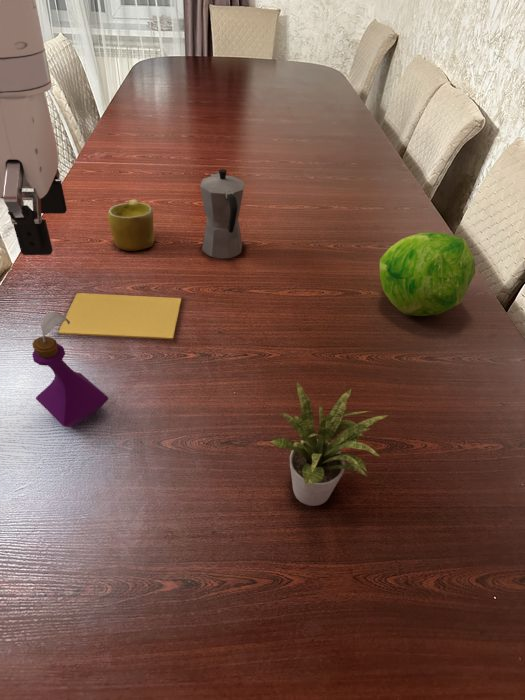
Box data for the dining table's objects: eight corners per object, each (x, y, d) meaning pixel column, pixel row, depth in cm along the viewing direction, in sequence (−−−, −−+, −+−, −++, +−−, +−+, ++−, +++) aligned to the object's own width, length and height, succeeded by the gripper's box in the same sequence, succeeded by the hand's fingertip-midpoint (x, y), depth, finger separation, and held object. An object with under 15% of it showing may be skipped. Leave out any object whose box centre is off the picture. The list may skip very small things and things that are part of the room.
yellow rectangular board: (58, 334, 91) (58, 332, 91) (77, 294, 100) (76, 292, 100) (173, 339, 92) (172, 337, 92) (181, 299, 101) (181, 298, 101)
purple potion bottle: (67, 441, 74) (39, 345, 62) (40, 412, 78) (7, 317, 66) (112, 413, 78) (93, 318, 66) (83, 387, 82) (61, 293, 70)
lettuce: (447, 289, 112) (423, 220, 108) (506, 296, 92) (479, 212, 88) (377, 324, 110) (349, 255, 107) (422, 338, 91) (390, 255, 87)
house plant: (365, 558, 63) (395, 479, 53) (253, 536, 65) (261, 455, 54) (368, 463, 74) (393, 382, 63) (272, 446, 75) (281, 364, 65)
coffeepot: (194, 236, 120) (192, 158, 108) (234, 232, 122) (235, 155, 110) (211, 272, 109) (211, 190, 97) (254, 266, 111) (259, 186, 100)
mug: (156, 251, 110) (139, 204, 106) (112, 260, 112) (94, 215, 108) (171, 233, 121) (157, 191, 116) (131, 242, 123) (115, 200, 118)
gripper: (-10, 48, 56) (28, 199, 67) (-67, 96, 43) (-8, 273, 54) (63, 51, 57) (88, 199, 68) (29, 99, 44) (67, 271, 55)
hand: (46, 231), depth 61 cm, fingers open, 9 cm apart
